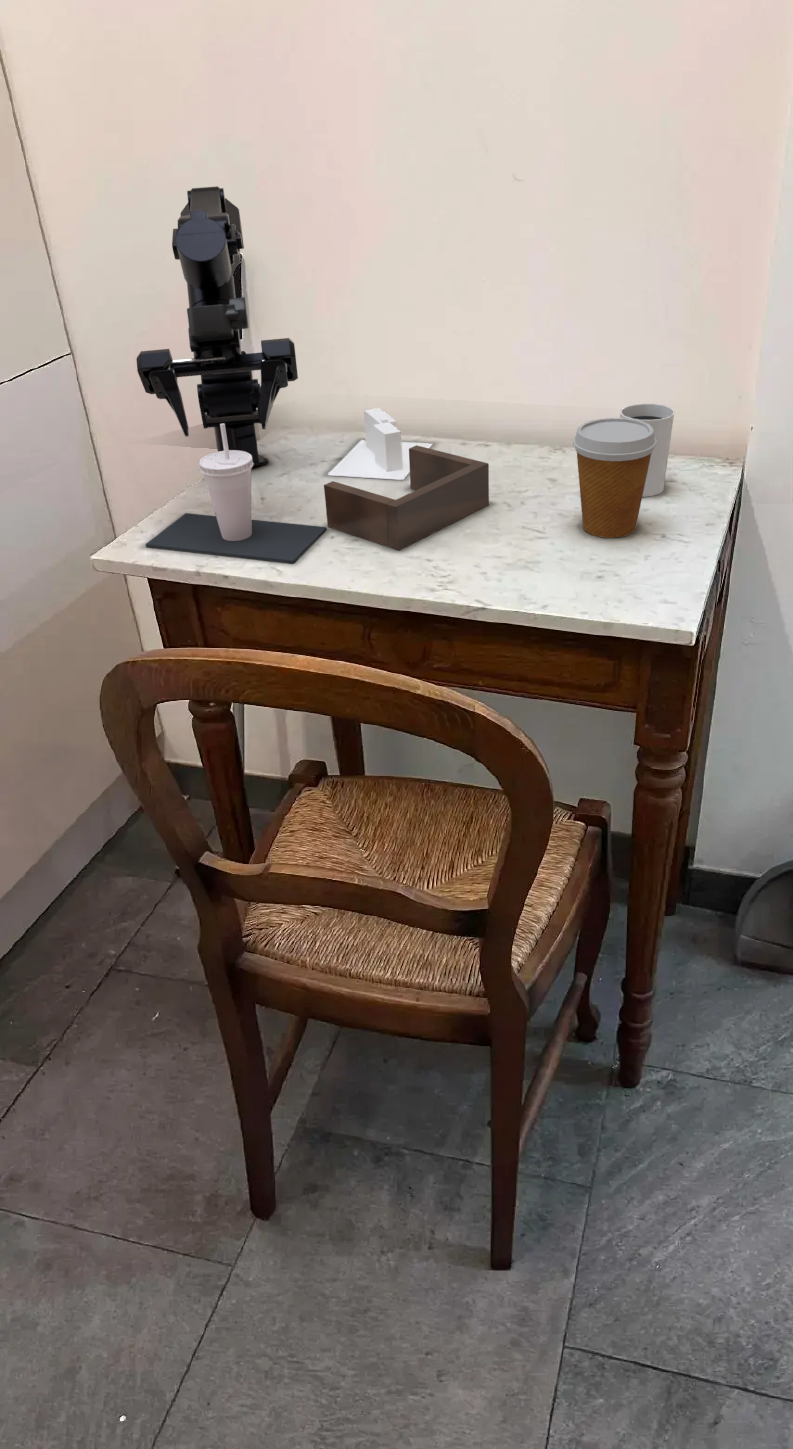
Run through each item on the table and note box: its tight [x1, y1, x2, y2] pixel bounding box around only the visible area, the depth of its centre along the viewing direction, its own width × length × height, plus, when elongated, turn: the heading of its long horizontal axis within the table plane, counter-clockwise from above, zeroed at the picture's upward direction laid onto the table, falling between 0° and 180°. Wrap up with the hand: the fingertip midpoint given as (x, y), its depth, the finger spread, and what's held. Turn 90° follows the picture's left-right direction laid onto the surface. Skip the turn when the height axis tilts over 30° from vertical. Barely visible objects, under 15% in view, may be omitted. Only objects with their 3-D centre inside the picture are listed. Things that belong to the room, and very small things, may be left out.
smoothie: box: [198, 423, 254, 541], centre depth 127 cm, size 6×6×14 cm
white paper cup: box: [619, 403, 675, 498], centre depth 135 cm, size 7×7×10 cm
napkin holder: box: [326, 407, 433, 481], centre depth 151 cm, size 15×11×6 cm
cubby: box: [323, 445, 490, 551], centre depth 133 cm, size 12×17×6 cm
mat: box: [145, 512, 328, 564], centre depth 131 cm, size 20×10×1 cm, turn 70°
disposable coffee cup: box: [572, 417, 657, 539], centre depth 125 cm, size 10×10×12 cm
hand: (225, 431), depth 127 cm, fingers open, 9 cm apart
